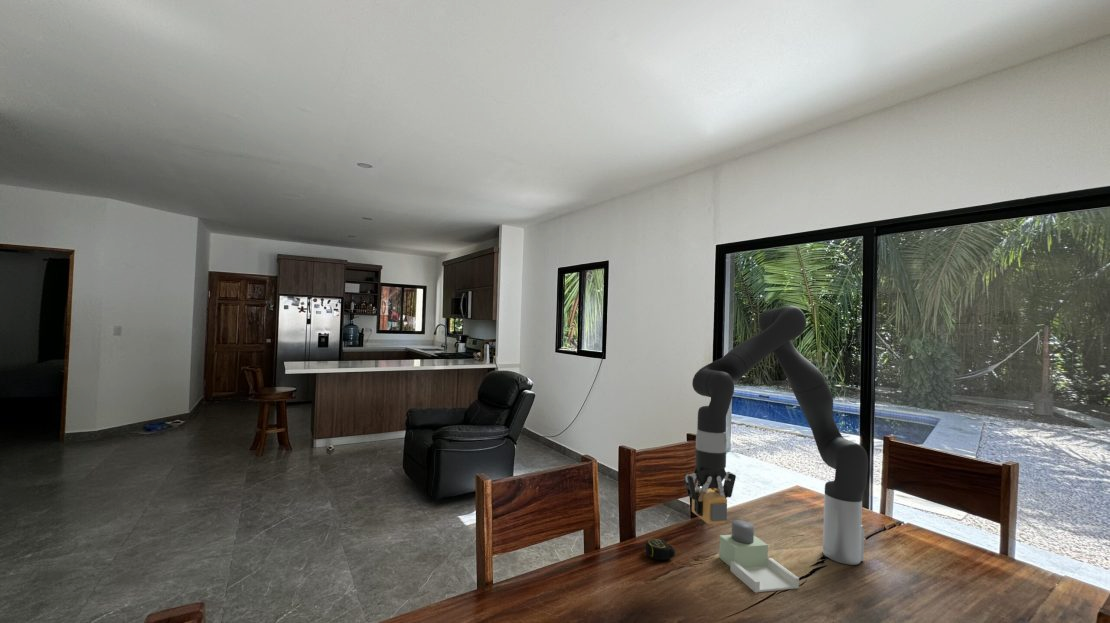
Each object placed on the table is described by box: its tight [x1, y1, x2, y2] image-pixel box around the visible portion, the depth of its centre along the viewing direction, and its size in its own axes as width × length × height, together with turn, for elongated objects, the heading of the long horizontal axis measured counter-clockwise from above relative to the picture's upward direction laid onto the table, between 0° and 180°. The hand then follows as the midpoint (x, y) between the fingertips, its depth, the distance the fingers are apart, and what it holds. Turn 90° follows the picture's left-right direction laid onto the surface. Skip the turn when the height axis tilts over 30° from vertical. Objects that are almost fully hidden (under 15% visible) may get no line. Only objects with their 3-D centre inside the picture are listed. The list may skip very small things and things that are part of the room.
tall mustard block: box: [691, 488, 728, 525], centre depth 120 cm, size 5×9×6 cm, turn 14°
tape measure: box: [645, 537, 676, 561], centre depth 129 cm, size 7×7×4 cm
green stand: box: [718, 519, 800, 594], centre depth 123 cm, size 12×17×10 cm
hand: (708, 513), depth 120 cm, fingers closed on tall mustard block, 5 cm apart
